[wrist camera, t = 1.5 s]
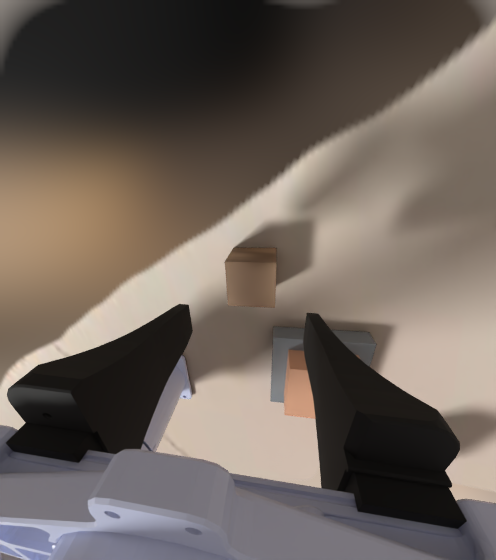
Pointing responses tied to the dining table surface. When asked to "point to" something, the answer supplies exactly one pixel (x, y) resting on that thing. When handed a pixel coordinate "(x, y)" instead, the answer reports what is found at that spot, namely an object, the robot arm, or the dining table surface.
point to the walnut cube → (251, 277)
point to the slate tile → (294, 341)
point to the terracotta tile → (298, 387)
